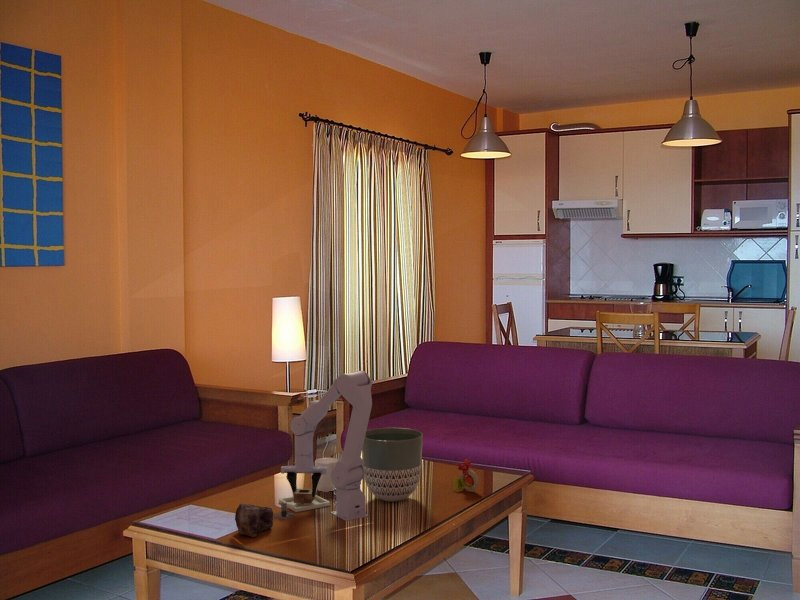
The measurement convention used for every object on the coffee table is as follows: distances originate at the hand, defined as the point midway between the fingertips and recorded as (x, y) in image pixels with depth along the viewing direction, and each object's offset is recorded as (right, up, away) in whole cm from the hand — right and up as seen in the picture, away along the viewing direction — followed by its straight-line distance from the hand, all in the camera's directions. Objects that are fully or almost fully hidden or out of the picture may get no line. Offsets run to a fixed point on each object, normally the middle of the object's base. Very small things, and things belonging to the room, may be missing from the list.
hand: (304, 495), depth 265 cm
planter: (+28, -3, +6) cm, 29 cm away
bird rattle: (+53, -2, +15) cm, 55 cm away
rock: (-12, -5, -26) cm, 29 cm away
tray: (0, -3, 0) cm, 3 cm away
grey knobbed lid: (-5, -4, -11) cm, 13 cm away
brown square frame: (0, -1, 0) cm, 1 cm away
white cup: (+6, -2, +18) cm, 19 cm away
